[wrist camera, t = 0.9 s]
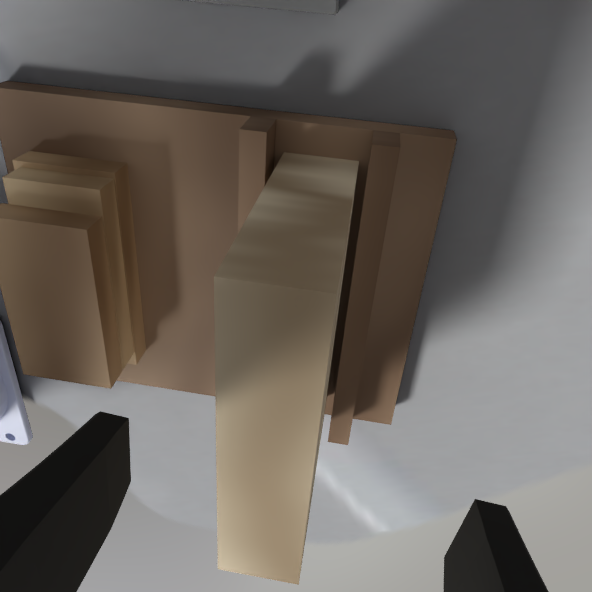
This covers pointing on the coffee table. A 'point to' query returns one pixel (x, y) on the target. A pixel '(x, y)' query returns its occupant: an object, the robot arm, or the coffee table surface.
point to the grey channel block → (284, 5)
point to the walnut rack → (233, 213)
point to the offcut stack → (71, 268)
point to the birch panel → (277, 360)
